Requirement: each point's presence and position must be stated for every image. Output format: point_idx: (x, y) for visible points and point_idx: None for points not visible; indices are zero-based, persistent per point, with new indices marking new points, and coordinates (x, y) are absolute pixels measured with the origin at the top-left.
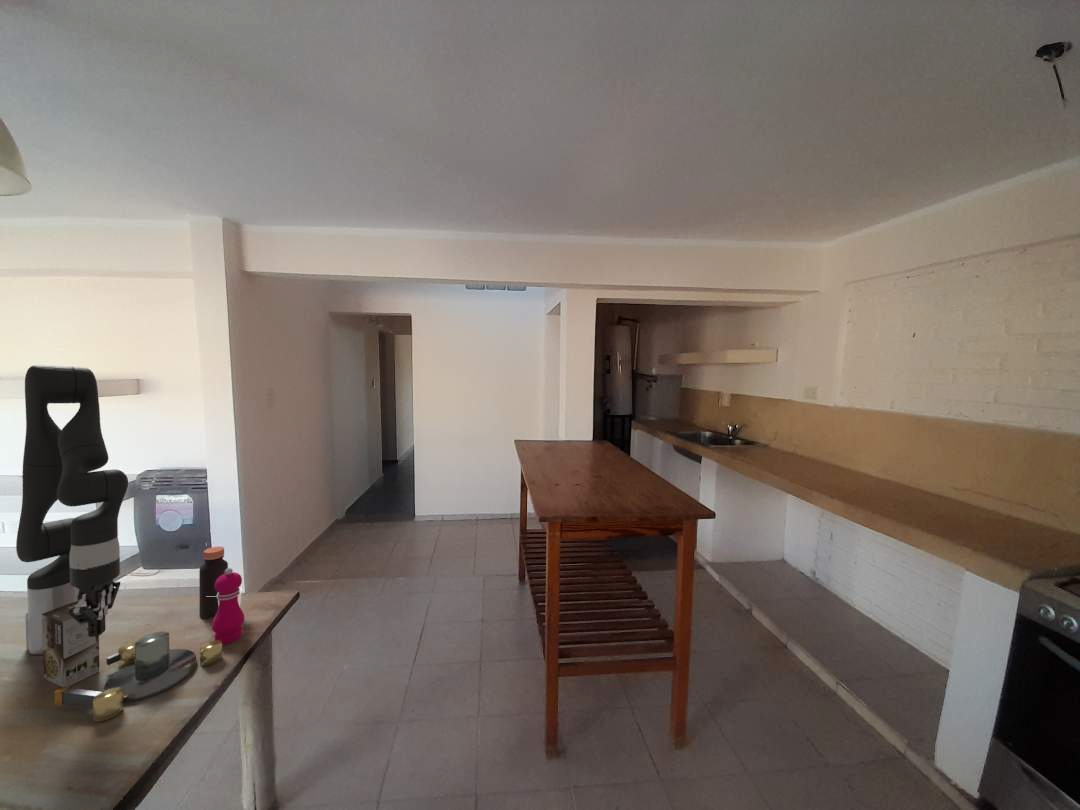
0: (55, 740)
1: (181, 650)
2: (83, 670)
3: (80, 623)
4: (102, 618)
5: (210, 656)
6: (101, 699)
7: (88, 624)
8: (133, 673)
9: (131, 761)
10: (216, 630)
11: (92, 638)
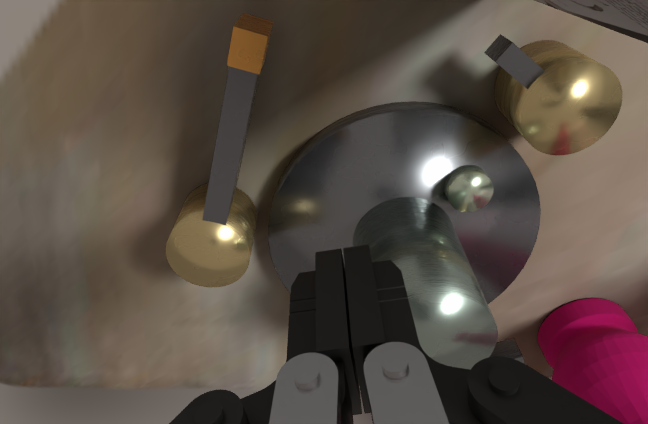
0: (108, 139)
1: (518, 261)
2: None
3: (200, 397)
4: (354, 412)
5: None
6: (186, 249)
7: (289, 353)
8: (402, 186)
9: (70, 359)
10: (564, 366)
11: (569, 8)
